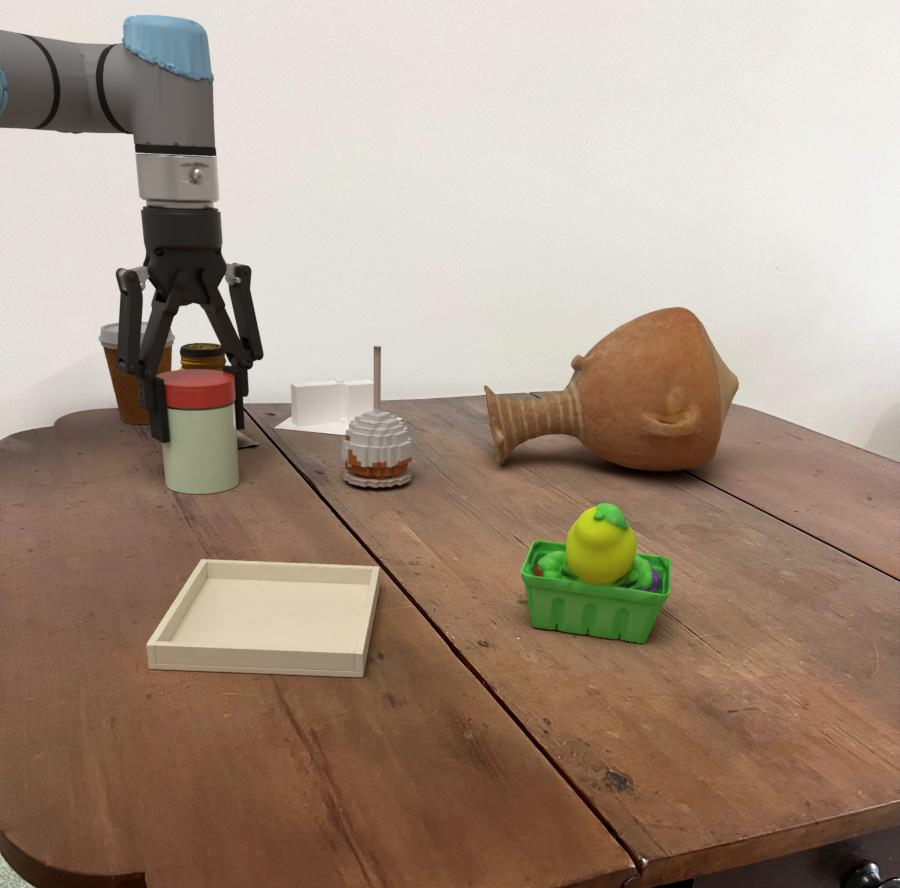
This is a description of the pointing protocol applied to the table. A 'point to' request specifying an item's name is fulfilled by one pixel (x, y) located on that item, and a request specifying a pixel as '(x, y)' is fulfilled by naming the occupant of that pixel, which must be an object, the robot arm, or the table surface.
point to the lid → (198, 388)
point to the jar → (201, 450)
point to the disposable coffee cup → (127, 383)
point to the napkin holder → (328, 405)
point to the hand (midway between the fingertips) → (199, 432)
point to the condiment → (208, 368)
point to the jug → (633, 397)
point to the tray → (269, 619)
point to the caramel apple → (377, 444)
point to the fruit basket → (596, 580)
